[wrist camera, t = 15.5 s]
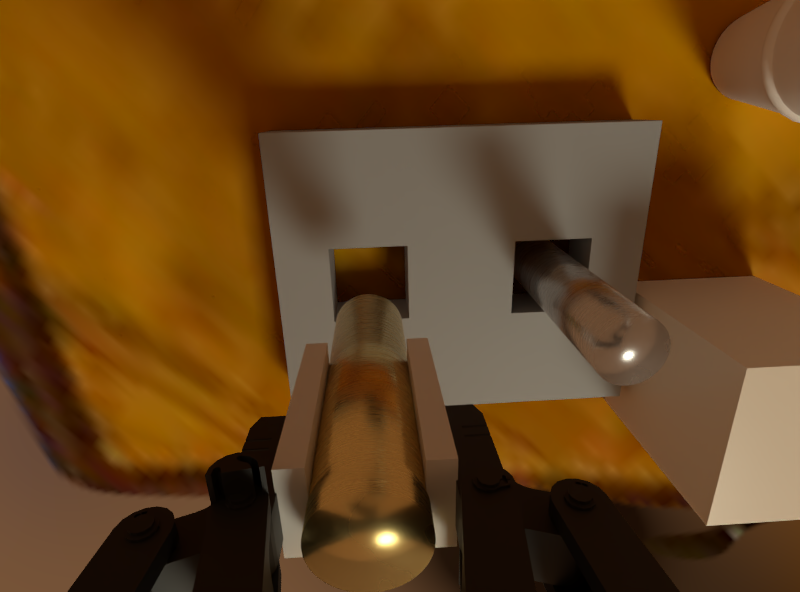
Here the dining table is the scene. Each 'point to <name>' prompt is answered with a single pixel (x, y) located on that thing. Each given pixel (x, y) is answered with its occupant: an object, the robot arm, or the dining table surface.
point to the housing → (723, 397)
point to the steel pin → (592, 314)
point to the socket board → (461, 237)
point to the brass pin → (368, 460)
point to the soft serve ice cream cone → (762, 58)
